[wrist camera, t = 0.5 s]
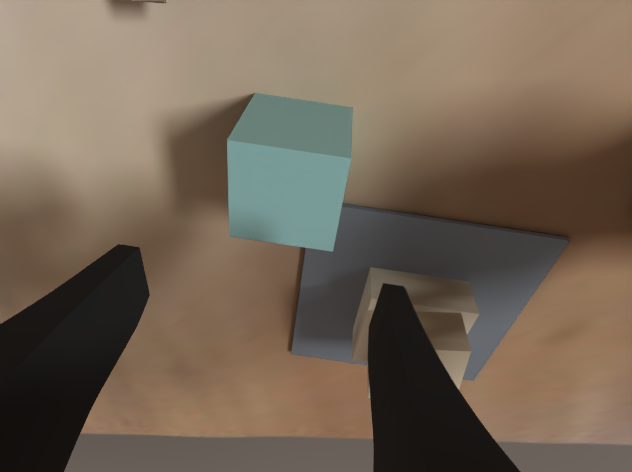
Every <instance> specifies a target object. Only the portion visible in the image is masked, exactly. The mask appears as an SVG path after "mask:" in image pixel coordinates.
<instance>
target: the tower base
mask: <svg viewBox="0 0 632 472" xmlns="http://www.w3.org/2000/svg"><path fill="white" fill-rule="evenodd" d="M383 283H386V284H393V285H400V286H404V287H405V289H406V290H407V293H408V295H409V298H410V300H411V302H412V304H413V307H414V309H415V311H416V312H450V313H461V314H462V318H463V322H464V326H465V329H466V333H467V334H468V332H469V331H470V329H471V327H472V326H473V324H474V322H475V321H476V319H477V317H478V316H479V312H478V308H477V305H476V302H475V298H474V295H473V292H472V288H471V285H470V282H468V281H461V280H454V279H448V278H441V277H434V276H427V275H421V274H414V273H407V272H400V271H393V270H387V269H380V268H373V267H370V271H369V274H368V278H367V281H366V285H365V288H364V292H363V295H362V298H361V302H360V305H359V309H358V312H357V316H356V319H355V323H354V326H353V340H352V361H359V362H366V363H367V359H368V332H369V316H370V310H374V309H375V306H376V303H377V300H378V297H379V294H380V291H381V288H382V285H383Z"/></svg>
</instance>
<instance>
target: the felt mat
mask: <svg viewBox="0 0 632 472" xmlns="http://www.w3.org/2000/svg"><path fill="white" fill-rule="evenodd" d="M569 242H570V240H569V238H568V237H563V236H556V235H549V234H543V233H536V232H529V231H522V230H516V229H509V228H502V227H496V226H489V225H482V224H475V223H469V222H462V221H455V220H449V219H442V218H435V217H428V216H422V215H415V214H408V213H402V212H395V211H388V210H381V209H375V208H368V207H361V206H355V205H348V204H342V208H341V213H340V218H339V223H338V228H337V233H336V238H335V243H334V248H333V252H332V251H325V250H318V249H311V248H306V249H305V256H304V263H303V271H302V278H301V285H300V293H299V300H298V307H297V314H296V322H295V329H294V336H293V343H292V351H291V354H293V355H300V356H307V357H313V358H320V359H327V360H334V361H341V362H348V363H355V364H362V365H367V363H366V362H359V361H352V340H353V326H354V323H355V319H356V316H357V312H358V309H359V305H360V302H361V298H362V295H363V292H364V288H365V285H366V281H367V278H368V274H369V271H370V267H373V268H380V269H387V270H393V271H400V272H407V273H414V274H421V275H427V276H434V277H441V278H448V279H454V280H461V281H468V282H470V285H471V288H472V292H473V295H474V298H475V302H476V305H477V308H478V312H479V316H478V317H477V319H476V321H475V322H474V324H473V326H472V327H471V329H470V331H469V332H468V334H467V337H468V341H469V345H470V349H471V354H470V357H469V360H468V363H467V366H466V369H465V372H464V376H463V379H465V380H472V381H474V379H475V378H476V376H477V375H478V373H479V372H480V370H481V369H482V368H483V366H484V365H485V363H486V362H487V360H488V359H489V357H490V356H491V355H492V353H493V352H494V350H495V349H496V347H497V346H498V344H499V343H500V341H501V340H502V339H503V337H504V336H505V334H506V333H507V331H508V330H509V328H510V327H511V326H512V324H513V323H514V321H515V320H516V318H517V317H518V315H519V314H520V313H521V311H522V310H523V308H524V307H525V305H526V304H527V302H528V301H529V300H530V298H531V297H532V295H533V294H534V292H535V291H536V289H537V288H538V287H539V285H540V284H541V282H542V281H543V279H544V278H545V276H546V275H547V274H548V272H549V271H550V269H551V268H552V266H553V265H554V263H555V262H556V261H557V259H558V258H559V256H560V255H561V253H562V252H563V250H564V249H565V248H566V246H567V245H568V243H569Z"/></svg>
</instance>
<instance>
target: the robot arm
mask: <svg viewBox="0 0 632 472" xmlns="http://www.w3.org/2000/svg"><path fill="white" fill-rule="evenodd" d="M149 295H150V294H149V289H148V285H147V280H146V276H145V271H144V266H143V262H142V257H141V252H140V248H139V247H133V246H127V245H120V244H119V245H117V246H116V247H114V248H113V249H111V250H110V251H108V252H107V253H106V254H104V255H103V256H102V257H100V258H99V259H97V260H96V261H95V262H93V263H92V264H90V265H89V266H88V267H86V268H85V269H83V270H82V271H81V272H79V273H78V274H76V275H75V276H74V277H72V278H71V279H69V280H68V281H66V282H65V283H64V284H62V285H61V286H59V287H58V288H56V289H55V290H54V291H52V292H51V293H49V294H48V295H46V296H44V297H43V298H41V299H40V300H38V301H37V302H35V303H34V304H32V305H30V306H29V307H27V308H26V309H24V310H23V311H21V312H20V313H18V314H16V315H15V316H13V317H12V318H10V319H8V320H7V321H5V322H3V323H1V324H0V472H64V470H65V468H66V465H67V463H68V460H69V458H70V456H71V453H72V451H73V449H74V446H75V444H76V441H77V439H78V437H79V435H80V432H81V430H82V428H83V426H84V423H85V421H86V419H87V417H88V414H89V412H90V410H91V408H92V406H93V404H94V402H95V400H96V398H97V396H98V394H99V393H100V391H101V389H102V387H103V386H104V384H105V382H106V380H107V378H108V377H109V375H110V373H111V371H112V370H113V368H114V366H115V364H116V363H117V361H118V359H119V357H120V356H121V354H122V352H123V350H124V349H125V347H126V345H127V343H128V342H129V340H130V338H131V336H132V334H133V333H134V331H135V329H136V327H137V325H138V323H139V320H140V318H141V316H142V313H143V311H144V308H145V306H146V303H147V300H148V298H149ZM368 373H369V386H370V399H371V411H372V424H373V441H374V472H520V471H519V470H518V468H517V467H516V466H515V465H514V463H513V462H512V461H511V460H510V459H509V457H508V456H507V455H506V454H505V452H504V451H503V450H502V449H501V448H500V446H499V445H498V444H497V443H496V441H495V440H494V439H493V438H492V436H491V435H490V434H489V432H488V431H487V430H486V428H485V427H484V425H483V424H482V423H481V421H480V420H479V419H478V417H477V416H476V415H475V413H474V412H473V410H472V409H471V407H470V406H469V404H468V403H467V402H466V400H465V399H464V397H463V396H462V394H461V393H460V391H459V389H458V388H457V386H456V385H455V383H454V382H453V380H452V378H451V377H450V375H449V373H448V372H447V370H446V368H445V367H444V365H443V363H442V361H441V360H440V358H439V356H438V354H437V352H436V351H435V349H434V347H433V345H432V343H431V341H430V339H429V338H428V336H427V334H426V332H425V330H424V328H423V326H422V324H421V322H420V320H419V317H418V315H417V313H416V311H415V309H414V307H413V304H412V302H411V300H410V298H409V295H408V293H407V290H406V289H405V287H404V286H400V285H393V284H386V283H383V285H382V288H381V291H380V294H379V297H378V300H377V303H376V306H375V309H374V312H373V315H372V318H371V321H370V324H369V332H368Z"/></svg>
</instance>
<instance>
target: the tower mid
mask: <svg viewBox="0 0 632 472" xmlns="http://www.w3.org/2000/svg"><path fill="white" fill-rule="evenodd" d="M373 312H374V310H370V316H369V324H370V321H371V318H372V315H373ZM416 313H417V315H418V317H419V320H420V322H421V324H422V326H423V328H424V330H425V332H426V334H427V336H428V338H429V339H430V341H431V343H432V345H433V347H434V349H435V351H436V352H437V354H438V356H439V358H440V360H441V361H442V363H443V365H444V367H445V368H446V370H447V372H448V373H449V375H450V377H451V378H452V380H453V382H454V383H455V385H456V386H457V388H458V389H459V388H460V385H461V382H462V379H463V376H464V372H465V369H466V366H467V363H468V360H469V357H470V354H471V349H470V345H469V341H468V337H467V333H466V329H465V326H464V322H463V318H462V314H461V313H450V312H416ZM367 368H368V359H367ZM368 398H369V399H370V386H369V373H368Z"/></svg>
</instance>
